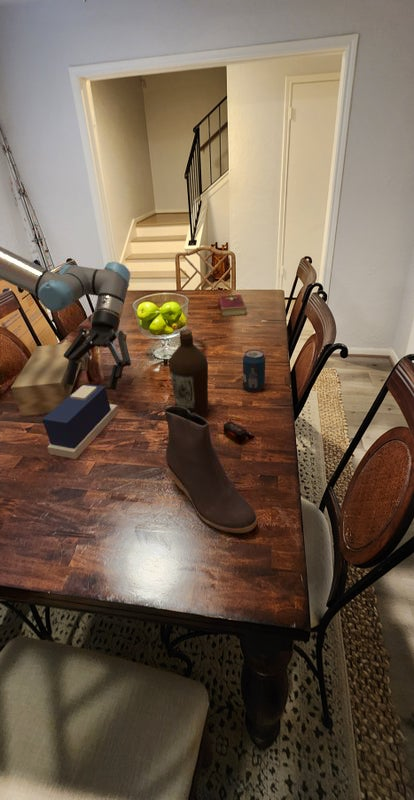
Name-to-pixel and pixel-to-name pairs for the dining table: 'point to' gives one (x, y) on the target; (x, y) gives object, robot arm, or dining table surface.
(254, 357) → the soda can
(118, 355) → the robot arm
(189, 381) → the olive oil
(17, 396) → the tan long block
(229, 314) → the hardcover book
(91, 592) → the dining table surface
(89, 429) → the navy block on base
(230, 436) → the wireless earbuds
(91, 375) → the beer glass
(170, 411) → the boot
